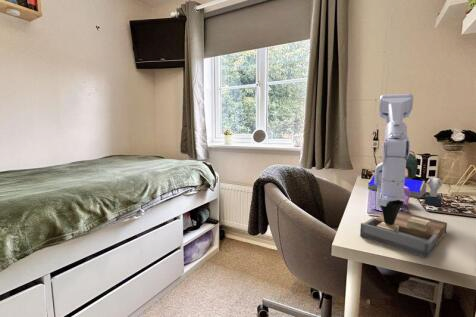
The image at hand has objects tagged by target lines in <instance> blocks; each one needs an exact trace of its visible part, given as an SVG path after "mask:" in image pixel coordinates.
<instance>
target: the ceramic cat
mask: <svg viewBox="0 0 476 317" xmlns="http://www.w3.org/2000/svg"><path fill="white" fill-rule="evenodd" d="M412 153H413V154H412ZM405 159H406V170H407V178H409V179H413V178H416V176H417V173H418V167H419V162H418V159H417V158H416V153H415V152H414V151H411V150H410V152H409V157H408V159H407V158H406V155H405Z"/></svg>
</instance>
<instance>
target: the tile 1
mask: <svg viewBox="0 0 476 317" xmlns="http://www.w3.org/2000/svg"><path fill="white" fill-rule="evenodd" d="M377 227H378V228H382V229H385V230H389V231H392V232H396V233H398V231H399V226H396V225H390V224H386V223H385V222H382V223H380V224H379V225H377Z"/></svg>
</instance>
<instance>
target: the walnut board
mask: <svg viewBox="0 0 476 317" xmlns="http://www.w3.org/2000/svg"><path fill="white" fill-rule="evenodd" d="M411 217H416V218H420V219H424V220H428V221H430V224H429V228H428V229H427V230H426V231H421V230H417V229H414V228H410V227H407V220H409V219H410V218H411ZM382 222H385V221H384V216H383V213H382V214H381V215H380V216H378V217H376V220H375V224H376V225H379V224H380V223H382ZM393 225H396V226H399V231H400V232H404V233H407V234H411V235H414V236H418V237H421V238H425V239H428V240H429V239H430V238H431V237H432V236H433V234H435V235H437V243H436V245H437V244H438V242H440V240H441V239H442V237H444V235H446V233H447V229H448V228H447V227H448V222H446V221H441V220H439V219H438V220H437V219H433V218H429V217H424V216H419V215H416V214H413V213H412V214H411V213H407V212H404V211H399V212H398V214H397V217H396V220H395V222H394V224H393Z"/></svg>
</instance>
